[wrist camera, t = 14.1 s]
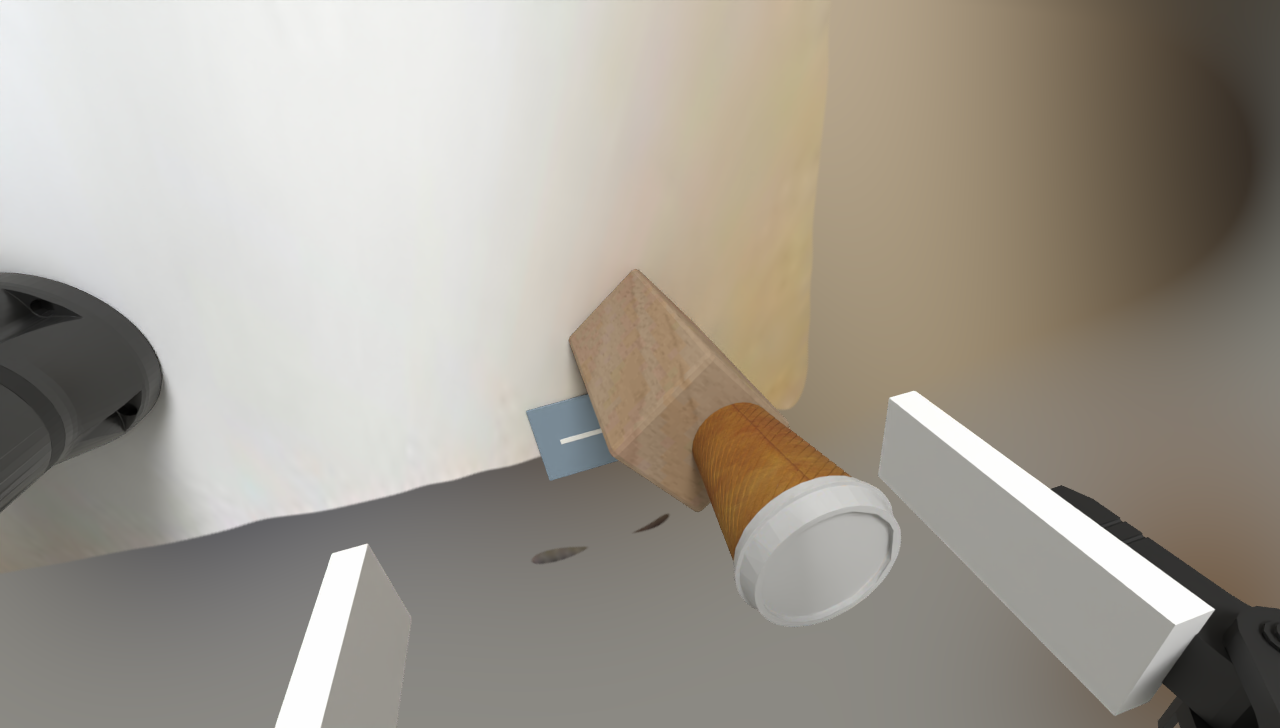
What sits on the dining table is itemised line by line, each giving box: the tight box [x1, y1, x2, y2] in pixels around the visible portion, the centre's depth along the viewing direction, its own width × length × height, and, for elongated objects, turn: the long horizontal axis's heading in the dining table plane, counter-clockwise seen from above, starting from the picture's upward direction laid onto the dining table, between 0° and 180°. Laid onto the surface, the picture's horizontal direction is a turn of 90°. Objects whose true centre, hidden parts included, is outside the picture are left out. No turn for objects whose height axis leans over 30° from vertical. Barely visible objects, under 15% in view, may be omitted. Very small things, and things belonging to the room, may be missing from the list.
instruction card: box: [526, 394, 619, 480], centre depth 59 cm, size 18×10×1 cm, turn 100°
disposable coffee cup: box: [692, 402, 901, 627], centre depth 32 cm, size 10×10×12 cm
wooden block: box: [569, 269, 789, 512], centre depth 45 cm, size 10×10×20 cm
